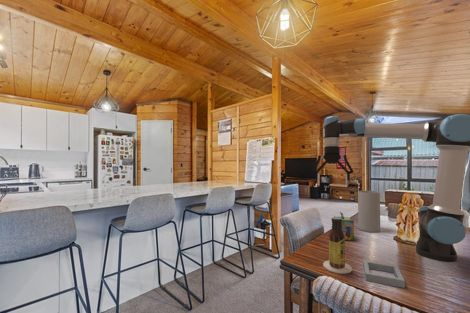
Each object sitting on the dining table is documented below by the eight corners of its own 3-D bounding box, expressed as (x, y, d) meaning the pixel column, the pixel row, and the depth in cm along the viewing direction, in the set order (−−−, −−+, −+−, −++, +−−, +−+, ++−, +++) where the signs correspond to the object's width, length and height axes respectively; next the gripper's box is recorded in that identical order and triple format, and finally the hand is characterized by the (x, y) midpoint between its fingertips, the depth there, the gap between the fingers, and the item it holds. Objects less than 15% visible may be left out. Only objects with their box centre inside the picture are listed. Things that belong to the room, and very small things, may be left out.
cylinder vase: (354, 228, 154) (353, 191, 154) (366, 226, 159) (366, 190, 160) (372, 233, 142) (371, 193, 143) (384, 231, 148) (384, 192, 148)
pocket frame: (397, 272, 93) (397, 265, 93) (404, 287, 81) (404, 280, 81) (363, 266, 98) (363, 260, 98) (365, 280, 86) (365, 273, 86)
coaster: (351, 265, 99) (351, 263, 99) (352, 276, 89) (352, 274, 89) (324, 260, 104) (324, 258, 104) (322, 270, 94) (322, 268, 94)
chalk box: (354, 241, 129) (354, 214, 130) (337, 240, 131) (336, 213, 131) (349, 235, 138) (349, 211, 139) (333, 234, 140) (333, 210, 140)
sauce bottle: (344, 270, 92) (343, 220, 93) (327, 266, 95) (327, 218, 96) (346, 264, 98) (345, 217, 98) (330, 261, 101) (330, 215, 101)
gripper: (358, 145, 120) (358, 186, 119) (308, 147, 131) (308, 184, 130) (358, 144, 113) (359, 188, 113) (306, 146, 124) (306, 185, 124)
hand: (332, 186), depth 121 cm, fingers open, 13 cm apart
